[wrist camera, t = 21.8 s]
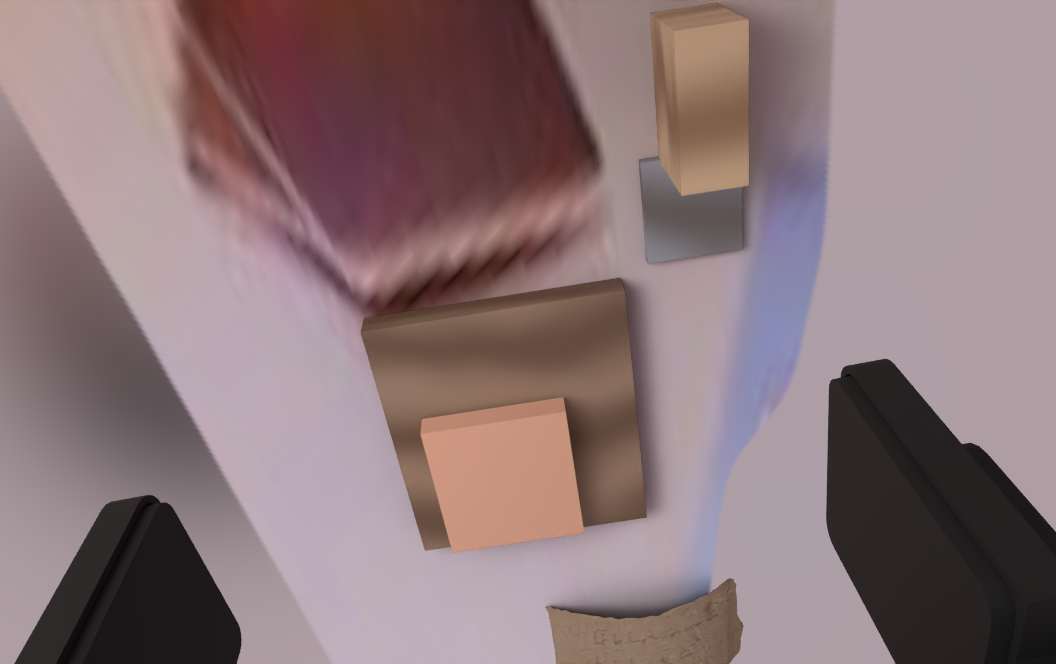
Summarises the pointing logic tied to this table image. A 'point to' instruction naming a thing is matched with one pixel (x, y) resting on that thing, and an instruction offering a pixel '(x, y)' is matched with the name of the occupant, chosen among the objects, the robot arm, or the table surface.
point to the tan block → (697, 134)
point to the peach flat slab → (504, 474)
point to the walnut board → (516, 385)
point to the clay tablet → (653, 634)
